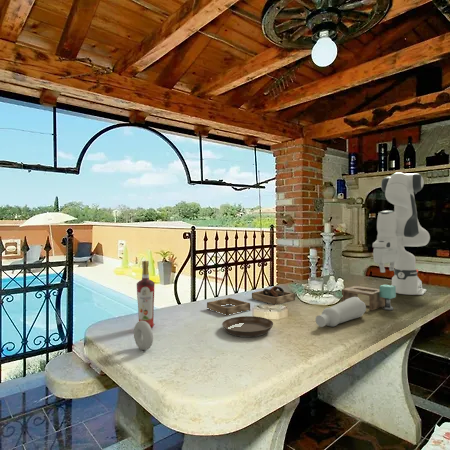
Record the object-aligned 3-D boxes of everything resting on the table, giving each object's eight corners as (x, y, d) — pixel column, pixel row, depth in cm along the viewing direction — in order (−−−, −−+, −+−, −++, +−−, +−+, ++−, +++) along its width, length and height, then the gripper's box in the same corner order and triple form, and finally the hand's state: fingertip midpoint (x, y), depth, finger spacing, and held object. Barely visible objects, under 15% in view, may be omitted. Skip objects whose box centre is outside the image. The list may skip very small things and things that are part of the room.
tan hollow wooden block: (355, 300, 178) (355, 285, 178) (385, 305, 165) (385, 290, 165) (341, 304, 169) (341, 289, 169) (371, 310, 157) (371, 294, 157)
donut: (132, 347, 114) (131, 318, 114) (140, 344, 116) (140, 316, 116) (146, 355, 107) (145, 325, 107) (155, 352, 109) (154, 322, 109)
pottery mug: (280, 297, 189) (284, 286, 186) (281, 308, 181) (286, 297, 177) (260, 292, 189) (264, 281, 185) (261, 303, 180) (265, 292, 177)
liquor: (136, 331, 130) (135, 262, 130) (137, 326, 138) (136, 260, 138) (155, 330, 132) (154, 262, 132) (155, 324, 139) (154, 260, 139)
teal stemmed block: (384, 307, 162) (384, 284, 162) (395, 309, 158) (395, 285, 158) (379, 309, 159) (379, 285, 159) (391, 311, 155) (390, 287, 155)
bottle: (345, 306, 153) (307, 320, 134) (355, 291, 149) (317, 305, 130) (361, 320, 148) (323, 337, 129) (371, 305, 143) (334, 321, 124)
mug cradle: (271, 294, 195) (270, 288, 195) (294, 299, 181) (294, 293, 181) (251, 298, 184) (251, 292, 184) (275, 304, 170) (275, 298, 170)
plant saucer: (212, 329, 132) (212, 321, 132) (249, 320, 145) (249, 312, 145) (245, 344, 116) (244, 335, 116) (284, 331, 128) (284, 323, 128)
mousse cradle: (229, 304, 173) (229, 297, 173) (250, 310, 160) (250, 303, 160) (207, 309, 163) (206, 302, 163) (227, 316, 151) (227, 308, 151)
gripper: (389, 242, 167) (390, 269, 167) (370, 243, 155) (370, 272, 155) (402, 242, 163) (403, 270, 163) (383, 244, 150) (384, 274, 150)
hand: (387, 271), depth 158 cm, fingers open, 8 cm apart
